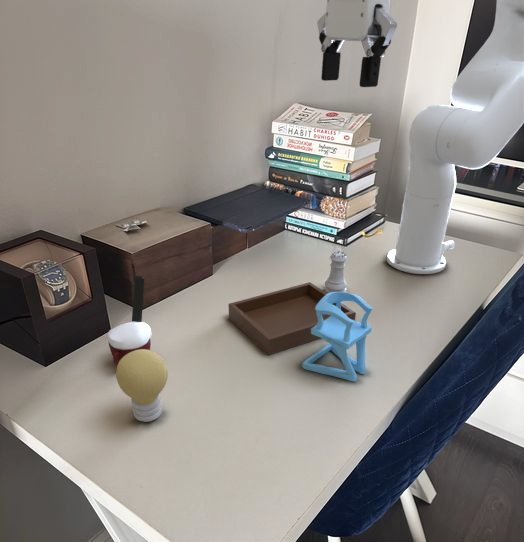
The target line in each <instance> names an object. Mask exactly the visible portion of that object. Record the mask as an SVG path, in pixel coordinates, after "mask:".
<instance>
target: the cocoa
mask: <svg viewBox="0 0 524 542" xmlns="http://www.w3.org/2000/svg"><path fill="white" fill-rule="evenodd" d="M144 289H145V277H144V276H141V275H135V276H134V279H133V295H132V296H133V297H132V313H131V321H127V322H124V323H121V324H119V325H118V326H115V327H113V328H111V329H110V330H108V333H107V335H106V339H107V341H108V347H109V350H110V353H111V357H112V360H113V363H114V364H115V365H117V366H118V363H119V361H120V360H121V359H122V358H123V357H124V356H125V355H127V354H128V353H130V352H132V351H135V350H139V349H146V350H150V351H151V343H152V342H151V341H152V340H151V337H152V336H153V334H152V329H151V327H150V325H149V324H147V323H146V322H145V321H143V307H144V306H143V305H144V291H145V290H144Z"/></svg>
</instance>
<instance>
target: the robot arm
mask: <svg viewBox="0 0 524 542" xmlns="http://www.w3.org/2000/svg"><path fill="white" fill-rule="evenodd" d="M495 7H496V8H495V17H494V24H493V28H492V31H491V33H490V35H489V36H488V38H487V39H486V40H485V41H484V43H483V45H482V46H481V47H480V48H479V50H478V51H477V52H476V53H475V55H474V56H473V57H472V58H471V60H469V61H468V63H467V65H466V66H465V67H464V69H462V71H461V72H460V73H459V75H458V76H457V78H456V79H455V80H454V82H453V84H452V87H451V89H450V101H451V104H452V105H449V104H448V105H447V104H433V105H432V104H431V105H429V106H426V107H425V108H422V109H421V110H420V111H419V112H418V113H417V114H416V115H415V117H414V119H413V120H412V122H411V125H410V129H409V138H408V146H409V150H408V151H409V163H408V172H407V173H408V174H407V179H406V185H405V192H404V197H403V198H404V199H403V203H402V209H401V215H400V220H399V226H398V231H397V232H398V233H397V239H396V245H395V249H392V250H389V252H388V253H387V255H386V262H387V263H388V264H389V265H390V266H391V267H392V268H394V269H396V270H397V271H401V272H405V273H408V274H415V275H434V274H437V273H440V272H443V271H444V270H445V269H446V266H447V259H446V258H445V257H444V256H443V255H444V253H445V252H446V251H451V250H454V249H455V247H456V243H455V241H454V240H448V241H445V242H444V240H445V236H446V232H447V227H448V226H447V225H448V222H449V217H450V214H451V208H452V203H453V199H454V196H455V191H456V186H457V175H456V169H455V166H456V167H460V168H463V169H467V170H468V169H469V170H479V169H482V168H484V167H486V166H487V165H489V164H490V163H491V162H492V161H493V160H494V159H495V158H496V157H498V155H499V154H500V152H501V151H502V150H503V149H504V148H505V146H506V145H508V143H509V141H510V140H511V139H512V138H513V137H514V136H515V135H516V133H517V132H518V131H519V129H520V128H521V127H522V126H523V125H524V0H496V6H495ZM390 11H391V0H326V8H325V13H324V14H323V15H322V16H321V17H320V18H319V19H318V20H317V29H318V30H317V31H318V34H319V35H318V40H319V43H320V45H321V46H320V51H321V52H322V64H321V77H320V78H321V81H325V82H327V81H329V82H330V81H338V80H339V77H340V67H341V57H342V55H341V52H339V50H340V48H341V47H342V45H343V43H344V41H345V42H346V41H347V42H361V45H362V48H363V50H364V54H365V56H362V59H361V66H360V67H361V68H360V76H359V87H360V88H376V87H377V86H378V84H379V76H380V69H381V62H382V58H383V57H385V54H386V51H387V49H388V48H389V46H390V45H391V43H392V39H393V36H394V34H395V32H396V29H397V28H398V23H397V21H396V20H395V19H394V18H393V17H392V16H391V15H390Z"/></svg>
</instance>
